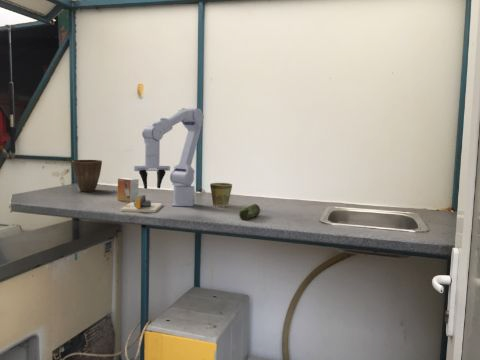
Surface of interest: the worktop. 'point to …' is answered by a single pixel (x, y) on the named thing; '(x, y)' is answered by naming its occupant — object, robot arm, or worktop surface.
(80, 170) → the plant pot
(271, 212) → the worktop surface
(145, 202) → the lever door handle
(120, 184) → the small box
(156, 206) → the console plate
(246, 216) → the vegetable
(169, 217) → the worktop surface
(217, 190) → the ceramic cup
